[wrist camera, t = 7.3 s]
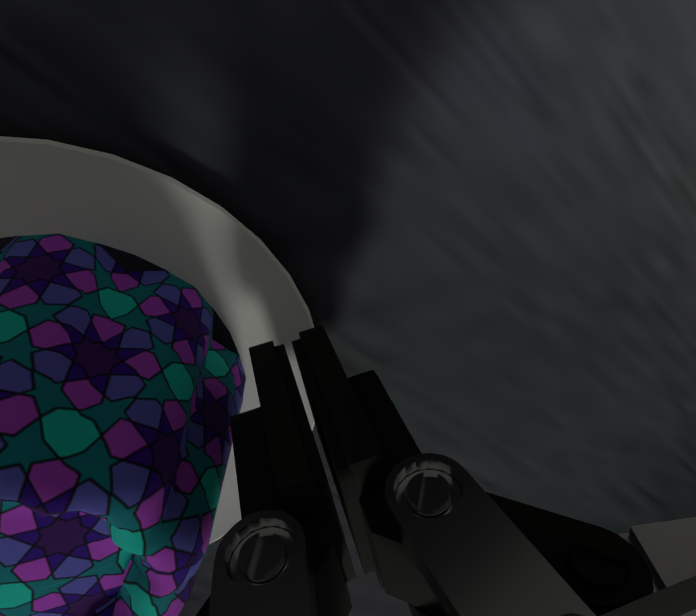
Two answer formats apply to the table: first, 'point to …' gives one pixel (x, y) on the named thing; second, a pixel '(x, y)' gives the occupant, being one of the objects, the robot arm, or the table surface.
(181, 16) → the table surface
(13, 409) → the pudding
